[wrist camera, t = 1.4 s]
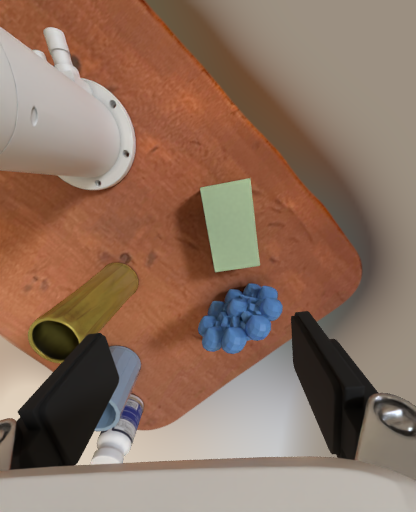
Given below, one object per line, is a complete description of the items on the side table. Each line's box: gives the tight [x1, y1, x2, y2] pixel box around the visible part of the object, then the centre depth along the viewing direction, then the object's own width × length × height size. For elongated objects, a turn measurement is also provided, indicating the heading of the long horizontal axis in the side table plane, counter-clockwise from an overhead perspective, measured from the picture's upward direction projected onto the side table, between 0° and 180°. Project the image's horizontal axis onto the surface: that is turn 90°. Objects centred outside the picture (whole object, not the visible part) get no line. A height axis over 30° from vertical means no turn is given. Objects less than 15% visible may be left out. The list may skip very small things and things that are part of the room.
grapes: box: [198, 283, 283, 354], centre depth 28 cm, size 12×7×12 cm, turn 113°
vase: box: [28, 263, 138, 363], centre depth 27 cm, size 6×6×14 cm
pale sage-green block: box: [200, 178, 260, 272], centre depth 28 cm, size 11×6×4 cm, turn 10°
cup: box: [94, 346, 141, 431], centre depth 35 cm, size 8×8×9 cm
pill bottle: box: [91, 394, 144, 465], centre depth 37 cm, size 6×6×10 cm
